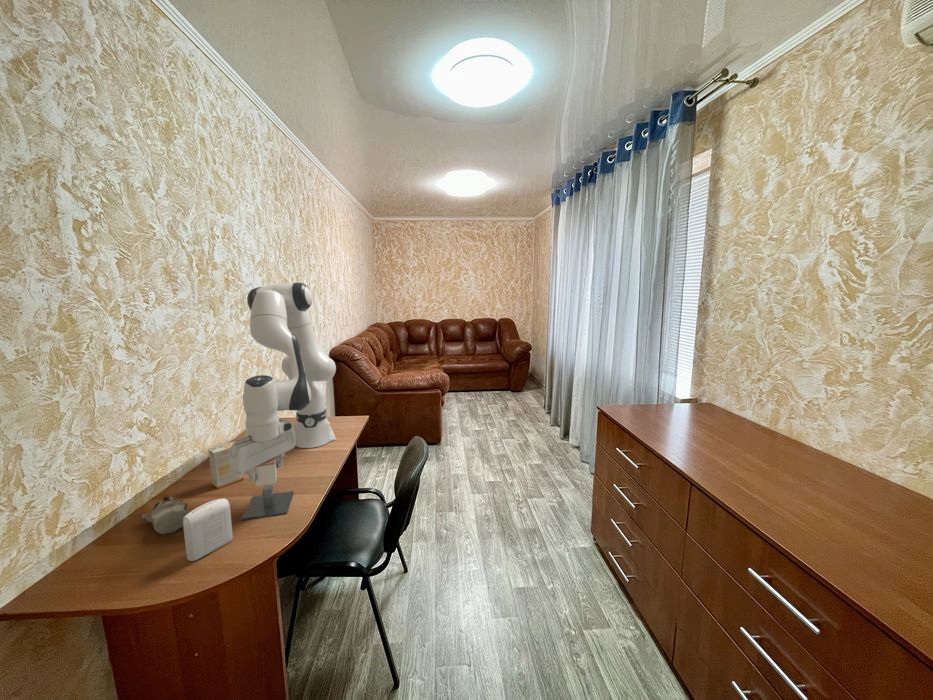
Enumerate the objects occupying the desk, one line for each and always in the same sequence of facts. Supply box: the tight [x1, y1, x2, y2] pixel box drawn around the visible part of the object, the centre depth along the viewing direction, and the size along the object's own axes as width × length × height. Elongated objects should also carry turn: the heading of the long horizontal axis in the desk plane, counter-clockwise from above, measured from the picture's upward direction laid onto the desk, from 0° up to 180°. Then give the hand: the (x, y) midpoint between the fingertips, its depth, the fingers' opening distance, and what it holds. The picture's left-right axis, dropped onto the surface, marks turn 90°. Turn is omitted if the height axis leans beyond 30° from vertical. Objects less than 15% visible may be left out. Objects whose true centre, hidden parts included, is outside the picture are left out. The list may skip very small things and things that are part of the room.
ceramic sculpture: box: [139, 496, 189, 535], centre depth 103 cm, size 11×9×15 cm
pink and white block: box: [254, 457, 278, 487], centre depth 111 cm, size 5×5×7 cm
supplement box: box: [208, 441, 244, 489], centre depth 125 cm, size 8×5×13 cm, turn 145°
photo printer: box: [182, 498, 234, 562], centre depth 93 cm, size 10×4×12 cm, turn 152°
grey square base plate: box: [241, 484, 295, 521], centre depth 112 cm, size 12×12×6 cm
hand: (266, 473), depth 111 cm, fingers closed on pink and white block, 7 cm apart
